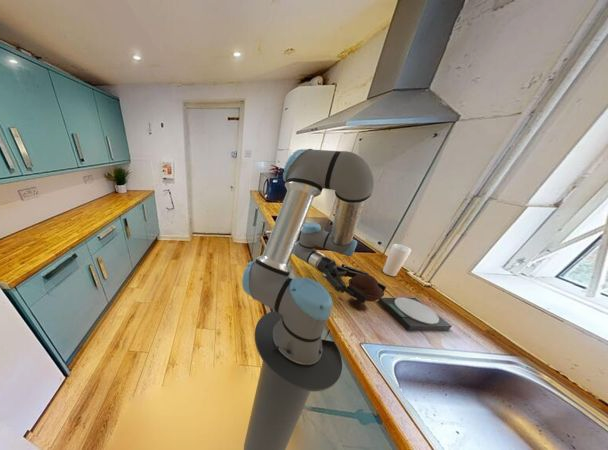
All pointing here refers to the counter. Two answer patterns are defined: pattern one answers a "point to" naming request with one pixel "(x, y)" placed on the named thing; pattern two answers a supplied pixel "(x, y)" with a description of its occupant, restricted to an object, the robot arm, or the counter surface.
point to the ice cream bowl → (365, 289)
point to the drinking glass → (396, 259)
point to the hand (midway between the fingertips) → (375, 295)
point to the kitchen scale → (413, 314)
